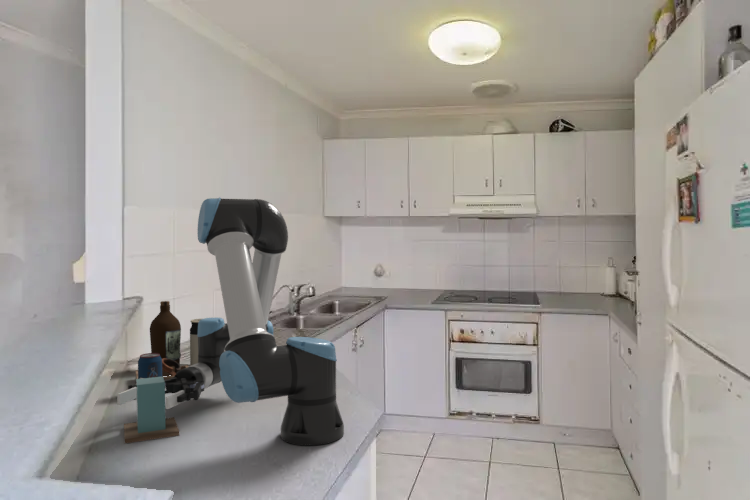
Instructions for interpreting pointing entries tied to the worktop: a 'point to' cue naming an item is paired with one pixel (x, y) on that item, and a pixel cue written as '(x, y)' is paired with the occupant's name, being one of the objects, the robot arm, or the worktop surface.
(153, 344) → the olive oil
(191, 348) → the travel mug
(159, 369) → the soda can
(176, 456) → the worktop surface
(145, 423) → the tall teal pillar
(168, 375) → the mug frame
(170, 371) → the pottery mug
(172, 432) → the brown square base plate
